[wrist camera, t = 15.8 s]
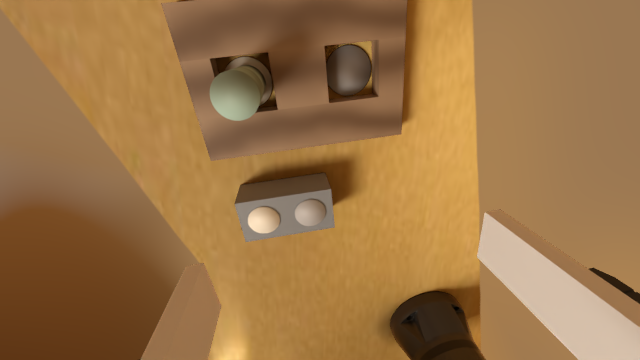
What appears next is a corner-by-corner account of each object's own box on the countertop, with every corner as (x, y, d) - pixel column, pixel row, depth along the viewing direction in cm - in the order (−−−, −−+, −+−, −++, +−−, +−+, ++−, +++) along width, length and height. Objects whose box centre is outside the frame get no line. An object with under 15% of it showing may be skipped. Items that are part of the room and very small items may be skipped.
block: (328, 207, 40) (334, 228, 35) (249, 220, 39) (245, 242, 34) (325, 172, 37) (331, 189, 32) (240, 185, 36) (234, 204, 31)
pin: (268, 99, 31) (264, 117, 22) (235, 103, 31) (217, 123, 22) (262, 63, 30) (254, 67, 21) (226, 67, 29) (203, 73, 20)
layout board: (393, 129, 35) (401, 134, 33) (215, 153, 34) (210, 160, 31) (398, -15, 28) (408, -21, 26) (171, 7, 26) (161, 3, 24)
